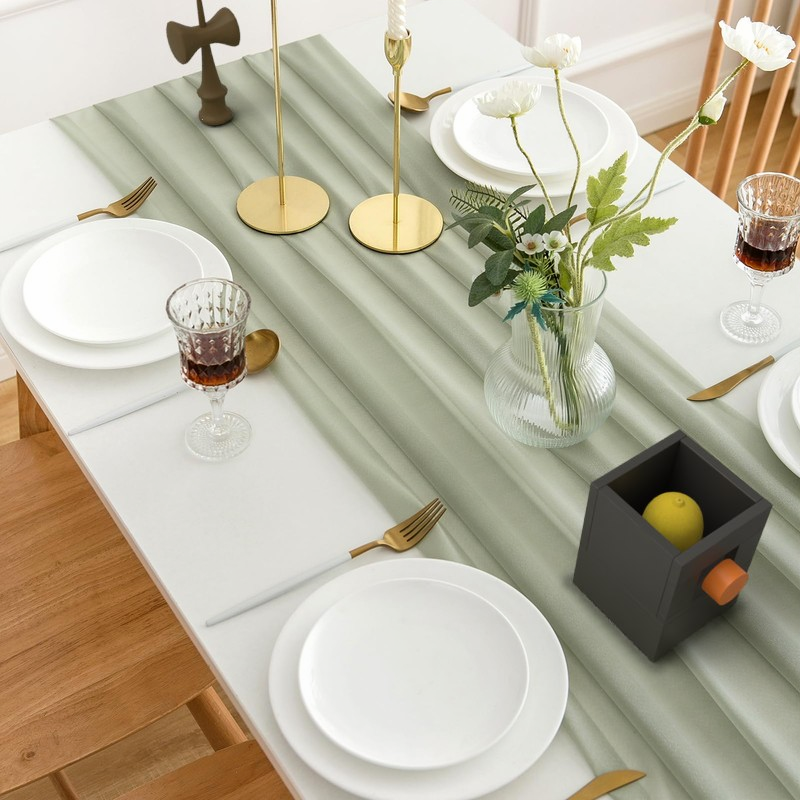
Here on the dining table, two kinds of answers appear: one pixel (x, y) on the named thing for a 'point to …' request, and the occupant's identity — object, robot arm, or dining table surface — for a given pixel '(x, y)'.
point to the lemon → (676, 519)
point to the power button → (725, 581)
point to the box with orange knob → (664, 542)
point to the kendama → (206, 57)
